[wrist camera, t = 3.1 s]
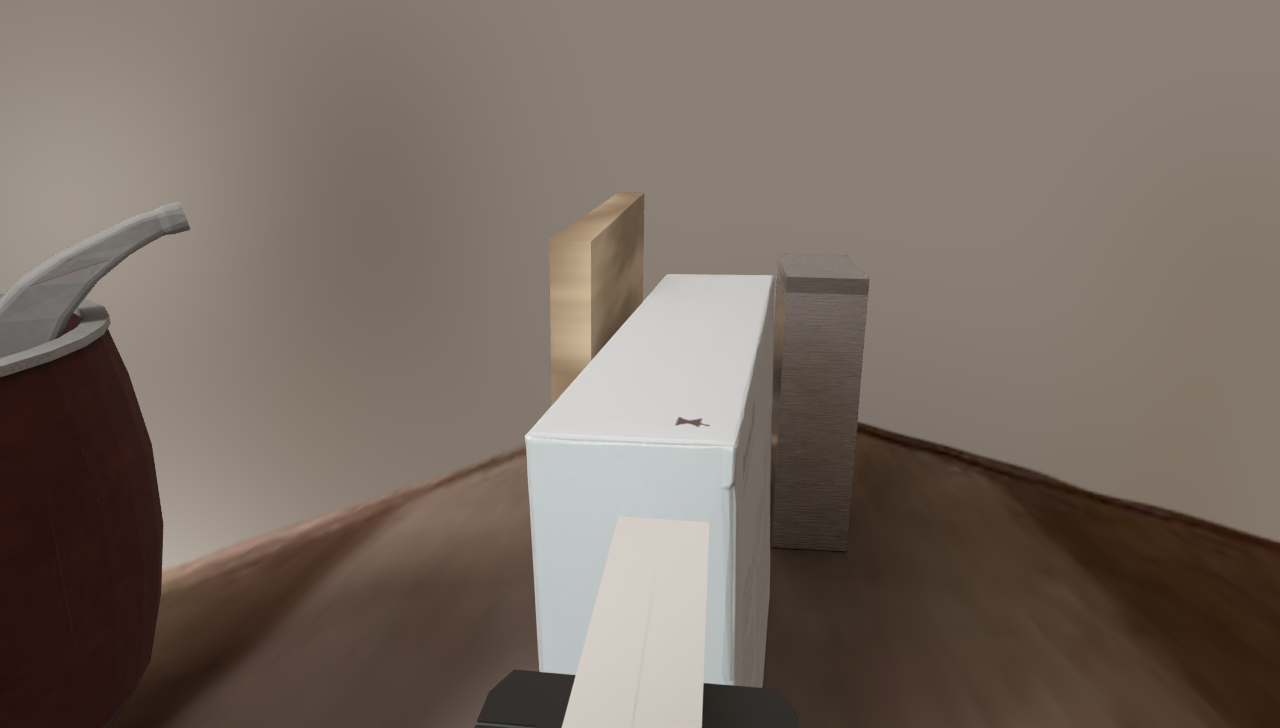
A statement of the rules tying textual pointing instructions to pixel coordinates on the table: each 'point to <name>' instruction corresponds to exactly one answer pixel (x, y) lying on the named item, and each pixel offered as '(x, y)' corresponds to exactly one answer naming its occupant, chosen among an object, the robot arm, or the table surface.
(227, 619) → the table surface
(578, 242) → the oak shelf corner
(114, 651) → the mate gourd
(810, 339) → the grey carton
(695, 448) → the skincare box
